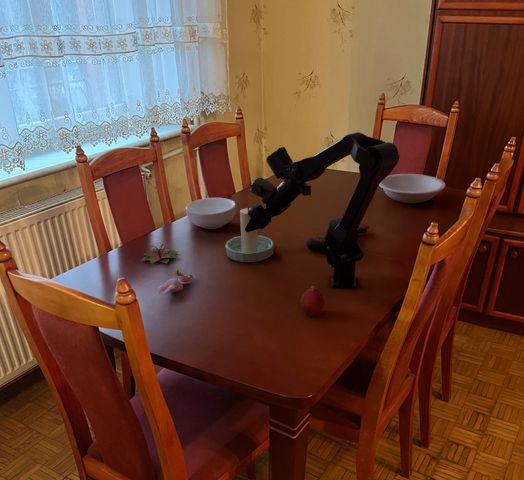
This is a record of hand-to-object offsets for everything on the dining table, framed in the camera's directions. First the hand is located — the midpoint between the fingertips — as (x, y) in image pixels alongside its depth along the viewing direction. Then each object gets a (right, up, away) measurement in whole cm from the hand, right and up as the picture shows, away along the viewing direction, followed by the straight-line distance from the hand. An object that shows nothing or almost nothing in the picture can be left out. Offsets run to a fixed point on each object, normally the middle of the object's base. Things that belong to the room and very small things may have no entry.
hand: (252, 225), depth 160 cm
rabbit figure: (-20, -21, -14) cm, 32 cm away
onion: (+15, -28, -26) cm, 42 cm away
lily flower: (-28, -9, +5) cm, 30 cm away
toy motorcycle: (+28, -3, +12) cm, 30 cm away
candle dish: (-1, -7, +6) cm, 9 cm away
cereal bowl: (-14, +6, +27) cm, 31 cm away
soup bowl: (+58, +19, +43) cm, 75 cm away
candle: (-1, -7, +5) cm, 9 cm away
